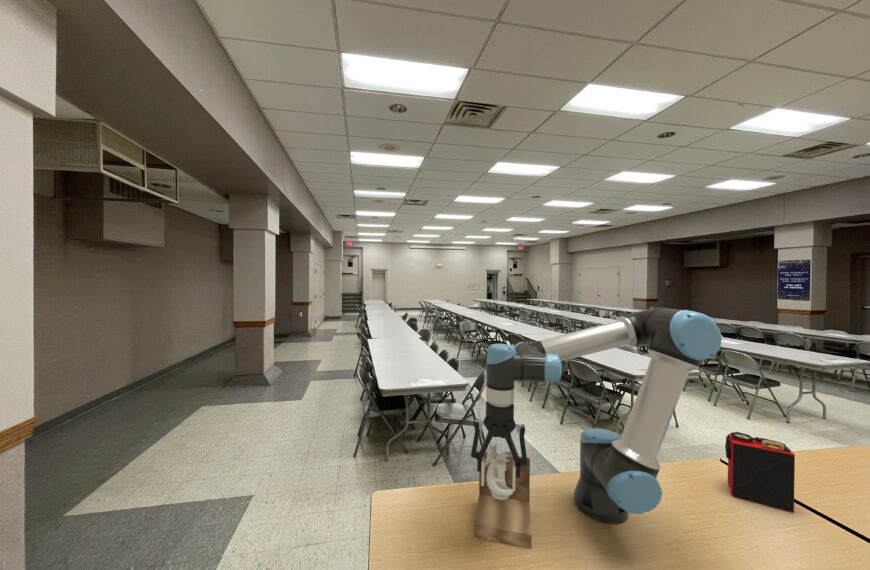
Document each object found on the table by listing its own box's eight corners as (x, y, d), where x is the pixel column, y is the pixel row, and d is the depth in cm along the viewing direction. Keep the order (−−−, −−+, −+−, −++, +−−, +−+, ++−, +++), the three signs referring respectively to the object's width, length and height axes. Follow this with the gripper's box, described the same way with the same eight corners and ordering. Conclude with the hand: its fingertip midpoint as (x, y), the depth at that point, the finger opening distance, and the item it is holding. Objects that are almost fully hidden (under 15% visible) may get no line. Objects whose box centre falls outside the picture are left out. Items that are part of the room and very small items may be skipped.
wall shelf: (529, 510, 100) (529, 457, 100) (531, 548, 86) (532, 487, 86) (479, 502, 104) (480, 451, 104) (474, 537, 90) (474, 478, 89)
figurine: (516, 502, 85) (518, 455, 85) (487, 503, 84) (488, 456, 84) (504, 477, 96) (505, 436, 95) (478, 478, 95) (479, 436, 95)
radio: (784, 496, 108) (785, 435, 108) (796, 514, 99) (798, 448, 99) (721, 480, 116) (722, 423, 116) (727, 496, 108) (728, 435, 108)
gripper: (538, 401, 91) (536, 483, 91) (464, 393, 96) (462, 472, 96) (540, 411, 84) (538, 501, 84) (460, 402, 88) (458, 487, 89)
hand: (498, 485), depth 90 cm, fingers closed on figurine, 8 cm apart
